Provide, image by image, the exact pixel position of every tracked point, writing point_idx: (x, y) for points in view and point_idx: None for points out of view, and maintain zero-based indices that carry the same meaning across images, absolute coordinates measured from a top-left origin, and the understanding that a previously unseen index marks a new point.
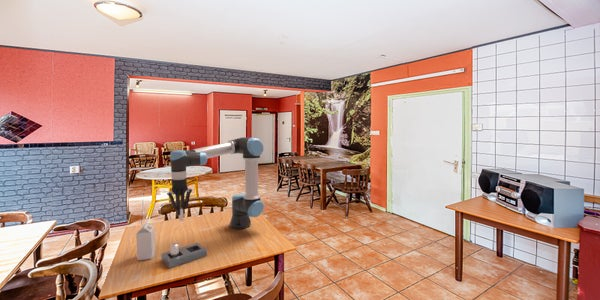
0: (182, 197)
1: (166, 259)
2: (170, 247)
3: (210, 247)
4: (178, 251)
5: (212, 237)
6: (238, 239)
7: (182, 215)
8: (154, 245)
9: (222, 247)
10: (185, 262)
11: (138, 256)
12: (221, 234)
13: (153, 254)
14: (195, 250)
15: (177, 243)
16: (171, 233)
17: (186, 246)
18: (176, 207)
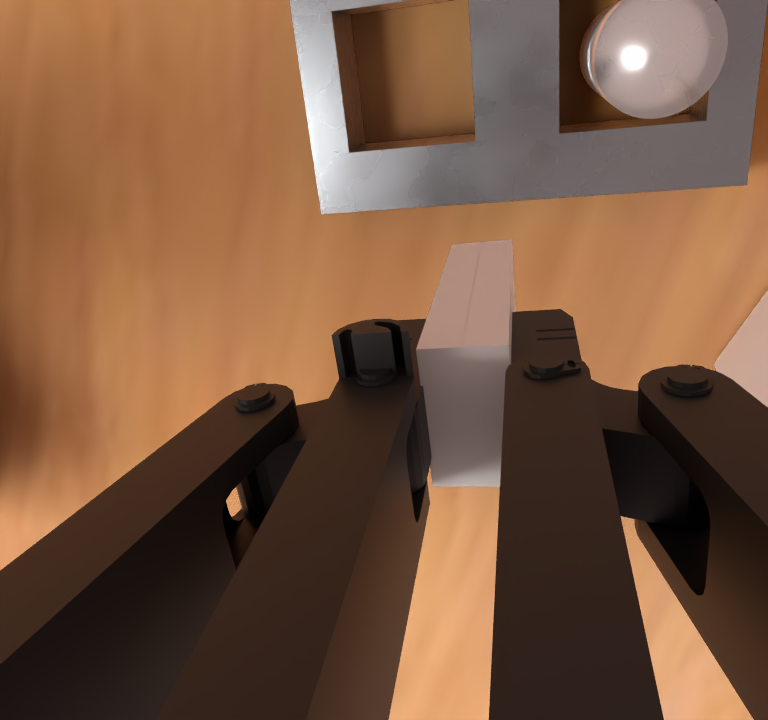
0: (288, 714)
1: None
2: (722, 31)
3: (228, 139)
4: (609, 8)
5: (166, 347)
6: None
7: (461, 276)
8: (749, 389)
9: (123, 57)
10: None
11: None
12: (82, 355)
13: (762, 310)
14: (377, 143)
15: (607, 73)
16: (449, 637)
17: (452, 194)
18: (654, 395)
